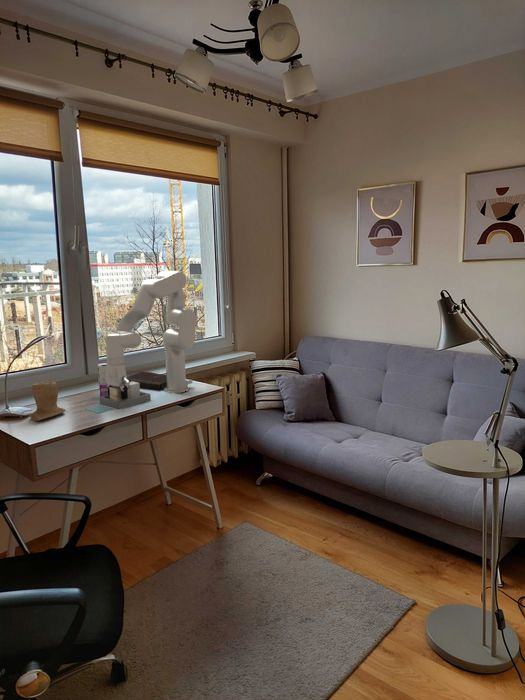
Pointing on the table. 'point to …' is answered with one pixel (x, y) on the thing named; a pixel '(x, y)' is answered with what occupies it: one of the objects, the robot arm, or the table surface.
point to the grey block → (133, 390)
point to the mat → (99, 409)
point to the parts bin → (123, 404)
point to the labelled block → (116, 393)
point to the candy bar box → (102, 379)
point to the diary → (149, 380)
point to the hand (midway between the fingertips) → (117, 397)
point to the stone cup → (45, 401)
